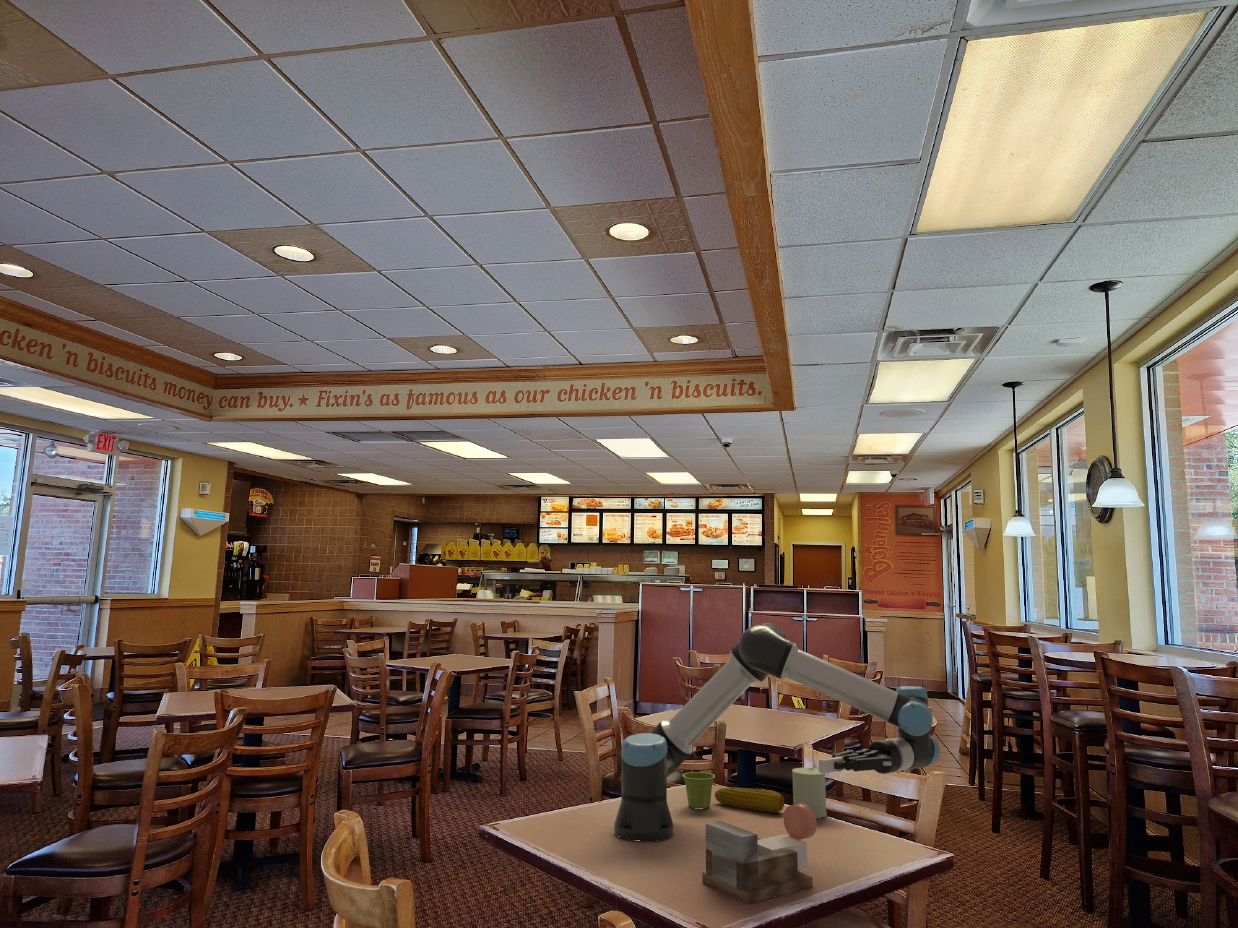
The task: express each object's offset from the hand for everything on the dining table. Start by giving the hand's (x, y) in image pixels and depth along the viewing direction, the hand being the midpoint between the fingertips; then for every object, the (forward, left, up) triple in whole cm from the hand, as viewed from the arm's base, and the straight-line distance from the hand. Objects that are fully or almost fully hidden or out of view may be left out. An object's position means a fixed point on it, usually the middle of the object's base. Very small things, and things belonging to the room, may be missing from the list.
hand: (821, 766), depth 178 cm
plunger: (-10, -6, -19) cm, 23 cm away
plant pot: (-20, +53, -22) cm, 61 cm away
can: (+10, +45, -22) cm, 51 cm away
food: (-6, +52, -22) cm, 56 cm away
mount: (-17, -10, -22) cm, 29 cm away
